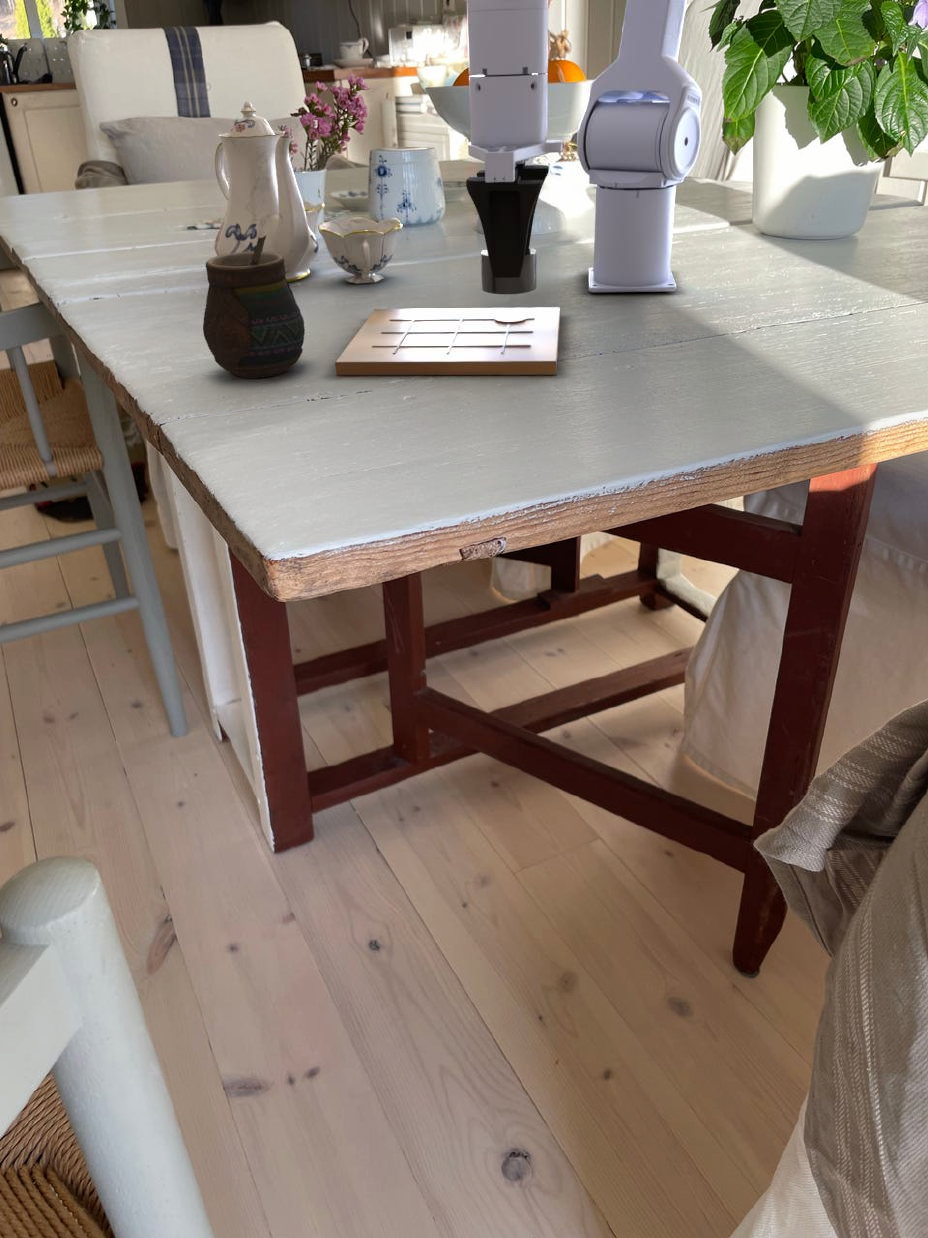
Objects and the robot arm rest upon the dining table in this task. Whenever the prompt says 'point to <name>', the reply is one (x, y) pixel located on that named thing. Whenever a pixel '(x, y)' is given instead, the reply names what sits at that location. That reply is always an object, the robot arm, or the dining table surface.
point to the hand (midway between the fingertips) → (509, 270)
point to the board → (455, 342)
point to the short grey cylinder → (510, 285)
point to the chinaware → (288, 208)
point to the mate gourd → (252, 314)
